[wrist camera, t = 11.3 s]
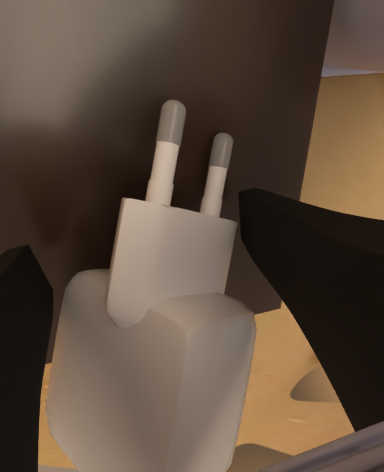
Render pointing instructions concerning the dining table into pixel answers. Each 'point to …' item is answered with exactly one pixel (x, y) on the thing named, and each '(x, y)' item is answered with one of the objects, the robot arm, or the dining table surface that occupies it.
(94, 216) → the stool
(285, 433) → the dining table surface
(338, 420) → the dining table surface
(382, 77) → the dining table surface
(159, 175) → the power adapter
